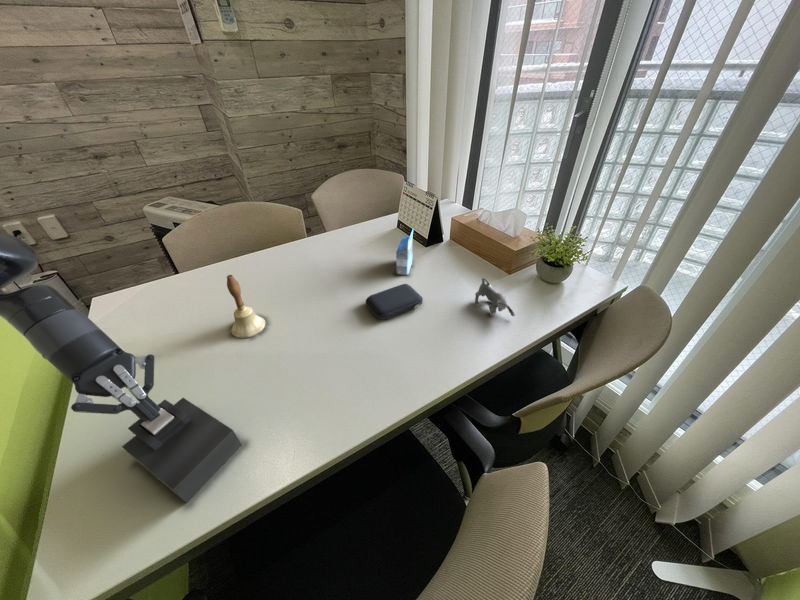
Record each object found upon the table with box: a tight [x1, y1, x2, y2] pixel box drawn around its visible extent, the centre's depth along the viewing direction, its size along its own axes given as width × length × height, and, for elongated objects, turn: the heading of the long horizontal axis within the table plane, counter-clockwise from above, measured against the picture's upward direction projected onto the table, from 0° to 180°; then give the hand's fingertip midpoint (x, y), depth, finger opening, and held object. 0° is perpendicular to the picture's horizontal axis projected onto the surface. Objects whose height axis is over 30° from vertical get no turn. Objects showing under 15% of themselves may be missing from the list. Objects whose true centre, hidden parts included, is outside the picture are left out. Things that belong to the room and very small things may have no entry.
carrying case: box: [365, 283, 424, 320], centre depth 90 cm, size 11×3×15 cm
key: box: [141, 408, 175, 436], centre depth 56 cm, size 4×4×2 cm
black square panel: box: [121, 397, 243, 504], centre depth 57 cm, size 15×11×7 cm
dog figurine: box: [474, 277, 516, 317], centre depth 88 cm, size 12×6×7 cm, turn 27°
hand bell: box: [226, 274, 266, 339], centre depth 80 cm, size 8×8×16 cm
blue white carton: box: [395, 229, 414, 276], centre depth 103 cm, size 9×4×12 cm, turn 168°
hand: (155, 418), depth 56 cm, fingers closed
